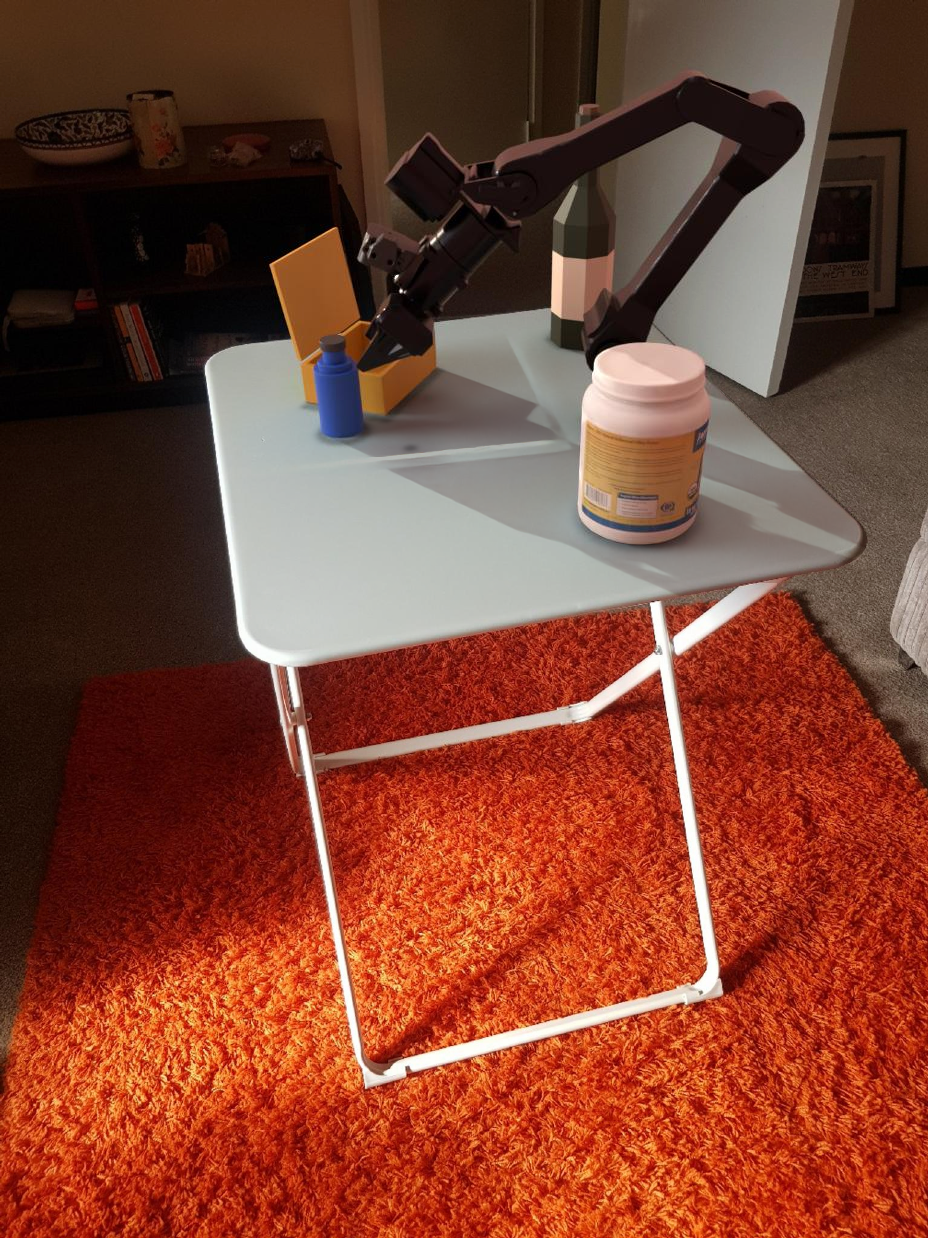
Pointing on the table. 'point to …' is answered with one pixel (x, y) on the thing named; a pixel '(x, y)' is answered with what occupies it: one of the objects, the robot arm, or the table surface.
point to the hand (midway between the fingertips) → (363, 352)
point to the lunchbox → (375, 373)
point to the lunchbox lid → (315, 292)
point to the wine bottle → (581, 250)
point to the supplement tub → (643, 442)
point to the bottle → (338, 390)
